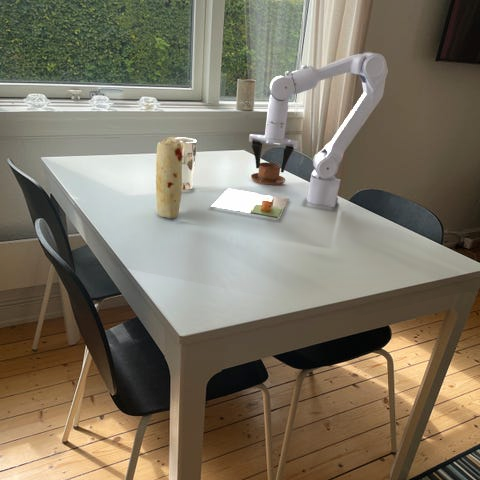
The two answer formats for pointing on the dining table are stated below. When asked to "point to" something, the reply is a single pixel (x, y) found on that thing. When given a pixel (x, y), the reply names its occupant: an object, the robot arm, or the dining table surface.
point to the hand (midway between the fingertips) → (270, 169)
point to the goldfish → (267, 204)
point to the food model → (169, 177)
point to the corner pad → (274, 212)
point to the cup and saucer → (268, 174)
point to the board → (246, 201)
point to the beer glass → (188, 161)
